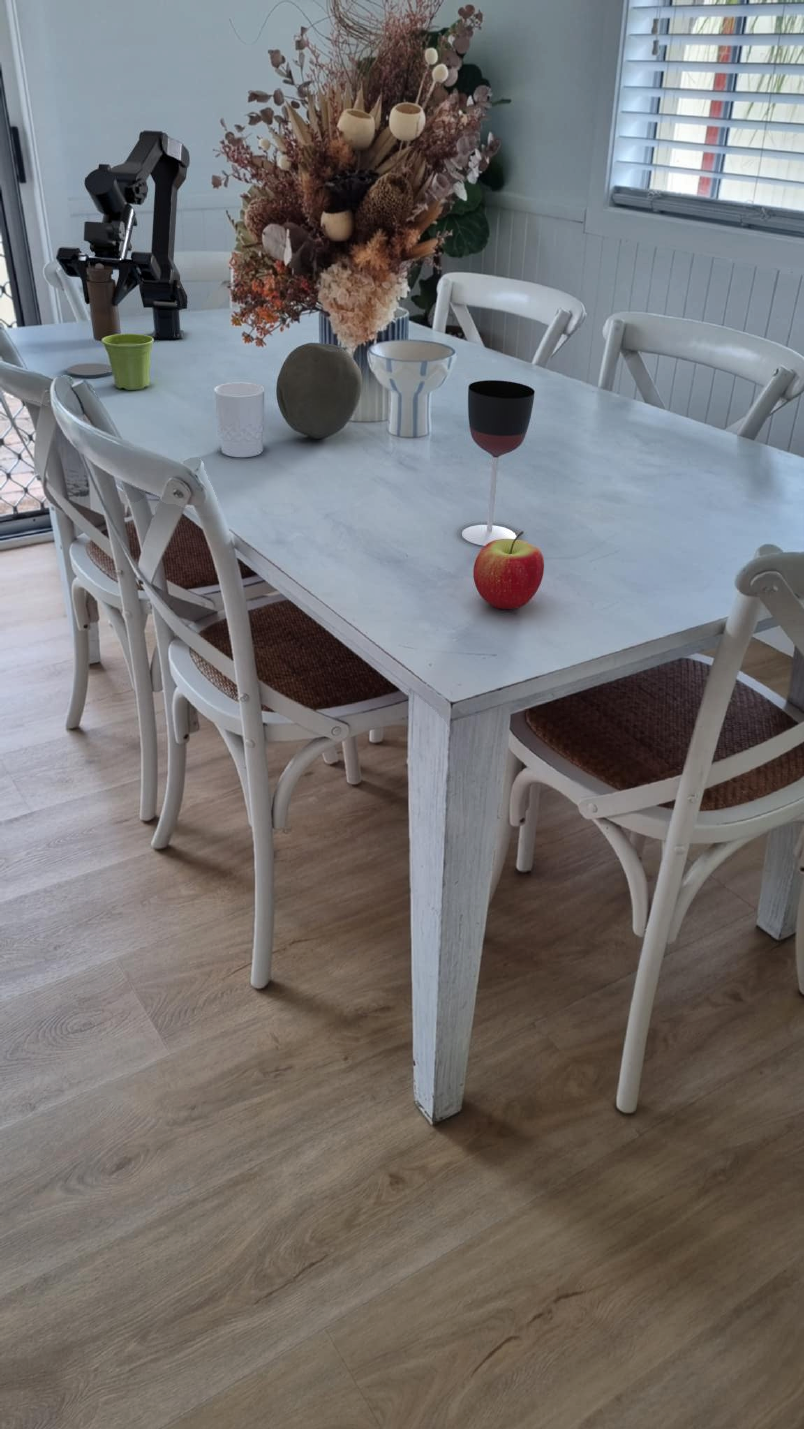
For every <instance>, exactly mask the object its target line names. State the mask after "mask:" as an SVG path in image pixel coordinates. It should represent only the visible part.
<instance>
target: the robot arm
mask: <svg viewBox="0 0 804 1429" xmlns="http://www.w3.org/2000/svg"><path fill="white" fill-rule="evenodd" d="M190 158H191V157H190V151H189V150H188V148H187V147H186V146H185V145H184V144H183V142H181V141H179V140H177V139H175V138H173V137H171V136H169V135H168V134H167V133H166V132H163V131H162V130H146V129H145V130H143V131H140V133H139V136H138V141H137V142H136V143H135V146H134V147H133V149H132V150H131V151H130V152H129V155H128V156H127V158H126V159H125V161H124V162H123V163H120V164H118V165H115V166H112V167H111V165H110V163H109V164H107V163H99V164H98V167H97V168H96V169H93V170H91V171H90V172H89V173H88V174H87V176H85V178H84V187H85V190H86V191H87V193H88V195H89V197H90V199H91V200H92V203H93V204H94V206H95V208H96V210H97V211H98V212H99V213H100V214H102V220H101V221H84V223H83V224H84V225H83V241H84V242H87V243H89V247H88V248H89V250H90V251H91V253H94V255H88V254H87V253H84V252H82V251H81V249H80V247H73V246H60V247H59V248H58V249H57V251H56V254H55V259H56V261H57V262H58V264H59V266H60V267H61V268H62V271H63V272H64V273H65V275H66V276H69V277H71V278H79V279H80V280H81V286H82V292H83V299H84V302H85V304H86V305H90V304H89V296H88V288H87V280H89V279H90V277H89V275H88V274H87V271H86V268H87V267H90V266H96V264H98V263H100V264H102V265H103V266H110V267H112V268H113V271H118V276H117V281H116V288H115V292H114V297H113V305H114V306H117V305H118V306H119V304H120V303H122V301H123V300H124V299H125V297H127V296H128V294H130V293H131V292H132V291H133V290H135V288H136V287H138V288H139V293H140V298H141V302H142V306H143V309H147V308H148V309H152V318H153V332H152V335H151V337H152V338H153V339H154V340H182V339H183V336H184V330H183V329H181V318H180V317H181V316H180V311H182V310H187V309H188V303H189V302H188V295H187V292H186V290H185V288H184V286H183V284H182V282H181V274H180V272H179V270H178V268H177V266H176V264H175V261H174V260H175V243H176V242H175V241H176V226H177V225H176V223H177V210H178V209H177V208H178V192H179V190H180V188H181V187H182V185H183V184H184V182H185V181H186V180H187V174H188V169H189V167H190V163H191V162H190V160H191V159H190ZM149 177H151V179H152V181H153V183H154V195H153V216H152V229H151V230H152V233H151V251H136V250H134V251H132V249H133V245H132V243H131V238H132V234H133V230H134V227H138V220H137V217H136V216H137V215H136V211H135V209H134V208H133V206H132V205H134V206H135V205H137V206H141V205H143V204H144V203H145V201H146V199H147V197H148V193H149V187H148V182H147V180H148V178H149ZM129 252H131V254H130V258H128V253H129Z"/></svg>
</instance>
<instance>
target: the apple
mask: <svg viewBox="0 0 804 1429" xmlns="http://www.w3.org/2000/svg"><path fill="white" fill-rule="evenodd" d="M523 534H524V531H523V530H522V531H520V532H519V533H518V535H516V538H515V539H498V540H494V541H492V542H489V543H488V544H486V545H485V546H483V547H482V548H481V550H480V551H479V552H478V554H477V556H476V558H475V560H474V564H473V568H472V570H473V571H472V574H473V582H474V585H475V588H476V590H477V592H478V594H479V595H480V597H481V599H483V601H485V602H486V603H487V604H489V605H490V606H493V607H494V608H497V609H500V610H501V609H502V610H514V609H519V608H521V607H524V606H525V605H526V604H528V603H529V602H530V601H531V599H532V598H533V597H535V595H536V593H537V592H538V590H539V588H540V586H541V583H542V581H543V578H544V574H545V559H544V555H543V553H542V551H541V549H540V548H538V547H536V546H535V545H533V544H531V543H529V542H527V541H524V540H521V539H519V538H520V537H521V536H522V535H523Z"/></svg>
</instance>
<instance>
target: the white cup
mask: <svg viewBox="0 0 804 1429" xmlns="http://www.w3.org/2000/svg"><path fill="white" fill-rule="evenodd" d="M213 395H214V405H215V415H216V422H217V429H218V436H219V440H220V441H219V442H220V450H221V453H222V454H223V455H225V456H227V457H232V458H251V457H255V456H259V455H261V454H262V453H263V451H264V434H265V388H264V387H263V386H262V385H261V384H260V385H259V384H256V383H252V382H241V381H237V382H227V383H222V384H219V385H217V386H215V387H214V388H213Z"/></svg>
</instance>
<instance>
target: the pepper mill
mask: <svg viewBox="0 0 804 1429" xmlns="http://www.w3.org/2000/svg"><path fill="white" fill-rule="evenodd" d="M86 271H87V274H88V275H89V277H90V279H89V280H87V288H88V296H89V304H88V305H89V311H90V318H91V327H92V328H91V329H92V336H93V340H95V341H97V342H102V339H103V338H104V337H107V336H110V335H116V334H122V331H121V321H120V311H119V304H118V305H117V306H114V305H113V297H114V292H115V288H116V284H117V282H116V280H115V279H114V278H112V275H114V270H113V268H112V267H110V266H103V265H102V264H100V263H98V264H96V266H90V267H87V268H86Z"/></svg>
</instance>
